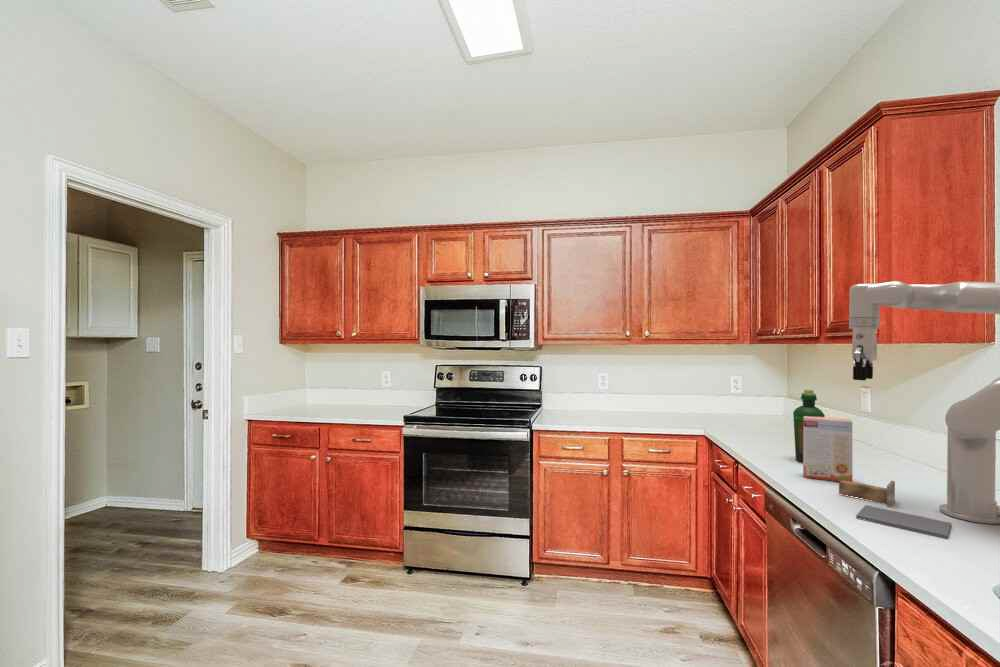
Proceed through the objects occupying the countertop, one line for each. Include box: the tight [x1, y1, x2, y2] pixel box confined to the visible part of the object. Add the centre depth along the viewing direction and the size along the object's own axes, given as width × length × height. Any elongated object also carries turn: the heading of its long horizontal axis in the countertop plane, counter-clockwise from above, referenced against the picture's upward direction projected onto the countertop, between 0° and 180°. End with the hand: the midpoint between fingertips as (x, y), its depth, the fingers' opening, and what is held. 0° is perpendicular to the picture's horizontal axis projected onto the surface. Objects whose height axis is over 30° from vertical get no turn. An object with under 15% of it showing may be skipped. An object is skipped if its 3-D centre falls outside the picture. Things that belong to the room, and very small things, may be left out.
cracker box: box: [802, 416, 853, 483], centre depth 168 cm, size 14×6×21 cm, turn 58°
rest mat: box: [855, 504, 952, 540], centre depth 128 cm, size 18×12×1 cm, turn 44°
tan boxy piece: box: [838, 480, 896, 508], centre depth 147 cm, size 13×8×6 cm, turn 44°
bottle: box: [792, 389, 825, 464], centre depth 191 cm, size 11×11×28 cm
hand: (862, 379), depth 151 cm, fingers open, 9 cm apart
